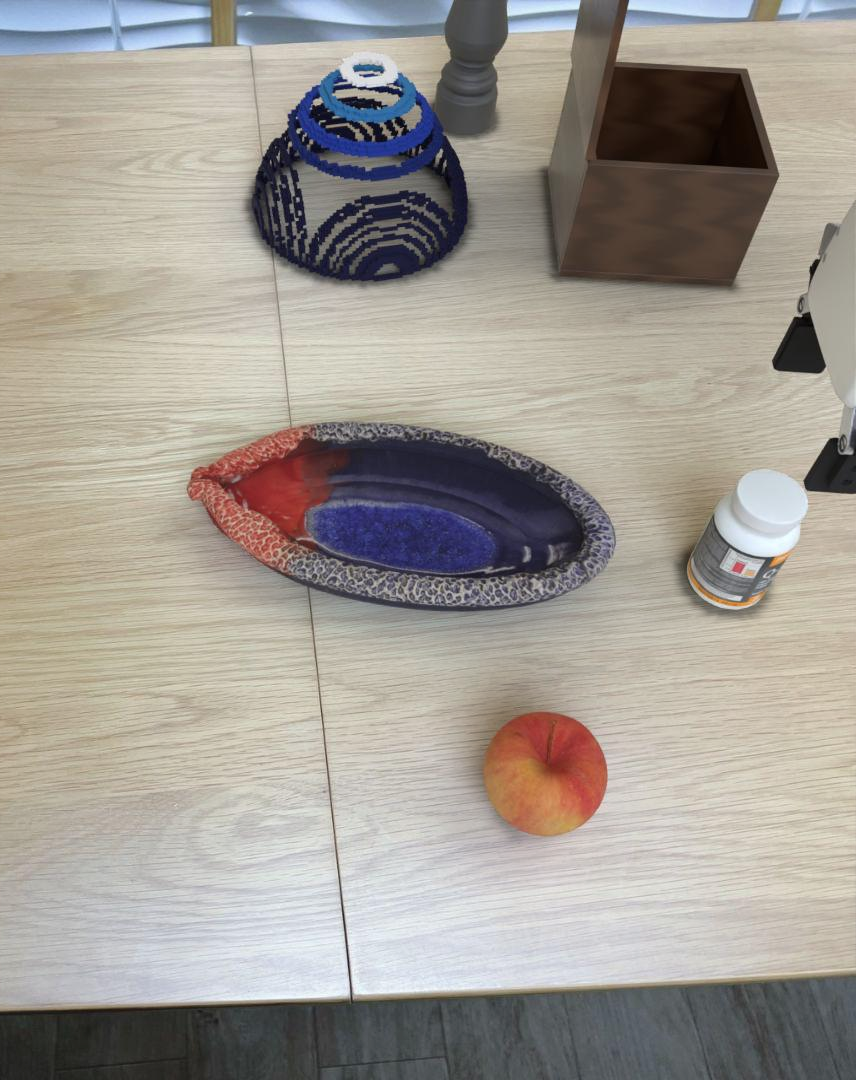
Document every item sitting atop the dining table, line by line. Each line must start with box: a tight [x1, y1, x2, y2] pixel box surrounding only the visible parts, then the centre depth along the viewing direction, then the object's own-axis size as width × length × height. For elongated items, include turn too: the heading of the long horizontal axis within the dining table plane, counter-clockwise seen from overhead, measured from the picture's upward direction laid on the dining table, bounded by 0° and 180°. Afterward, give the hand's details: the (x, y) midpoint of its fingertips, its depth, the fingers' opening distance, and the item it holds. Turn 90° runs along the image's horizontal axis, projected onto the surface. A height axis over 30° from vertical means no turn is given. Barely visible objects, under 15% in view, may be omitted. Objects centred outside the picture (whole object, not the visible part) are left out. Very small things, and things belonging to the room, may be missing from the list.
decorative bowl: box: [251, 51, 469, 283], centre depth 98 cm, size 20×20×14 cm
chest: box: [547, 60, 780, 287], centre depth 98 cm, size 16×16×12 cm
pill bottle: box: [686, 468, 809, 610], centre depth 76 cm, size 6×6×10 cm
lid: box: [570, 0, 630, 160], centre depth 87 cm, size 16×16×1 cm
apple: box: [482, 711, 609, 837], centre depth 66 cm, size 7×7×8 cm
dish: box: [186, 421, 617, 613], centre depth 79 cm, size 16×31×5 cm, turn 79°
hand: (812, 426), depth 66 cm, fingers open, 9 cm apart
